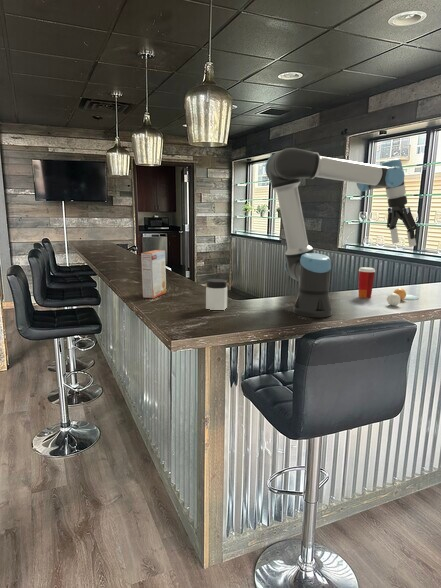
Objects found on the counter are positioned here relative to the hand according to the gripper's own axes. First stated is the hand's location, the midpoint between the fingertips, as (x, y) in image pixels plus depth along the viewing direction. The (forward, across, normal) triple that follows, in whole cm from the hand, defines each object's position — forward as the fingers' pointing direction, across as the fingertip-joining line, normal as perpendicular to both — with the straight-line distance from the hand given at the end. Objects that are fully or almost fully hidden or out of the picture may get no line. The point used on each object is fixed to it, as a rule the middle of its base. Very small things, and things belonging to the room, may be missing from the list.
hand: (403, 244), depth 182 cm
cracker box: (-4, +22, +113) cm, 115 cm away
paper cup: (+23, +12, +17) cm, 31 cm away
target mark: (+28, +12, -2) cm, 30 cm away
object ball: (+24, +5, +3) cm, 24 cm away
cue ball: (+21, -6, +12) cm, 25 cm away
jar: (+3, -7, +87) cm, 88 cm away
